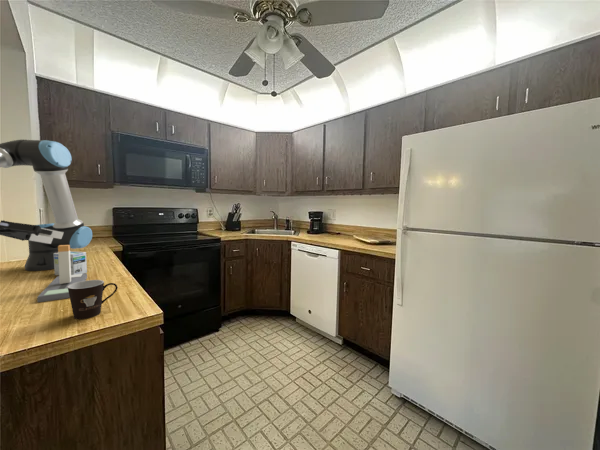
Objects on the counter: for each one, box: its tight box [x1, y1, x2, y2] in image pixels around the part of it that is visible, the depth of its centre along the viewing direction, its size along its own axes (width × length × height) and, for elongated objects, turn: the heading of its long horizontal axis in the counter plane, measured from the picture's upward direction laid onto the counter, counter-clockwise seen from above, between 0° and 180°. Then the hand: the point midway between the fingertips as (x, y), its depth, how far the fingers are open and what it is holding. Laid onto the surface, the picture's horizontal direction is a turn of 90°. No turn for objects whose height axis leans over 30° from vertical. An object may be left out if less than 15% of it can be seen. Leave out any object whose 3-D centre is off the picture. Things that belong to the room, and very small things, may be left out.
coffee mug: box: [68, 279, 118, 320], centre depth 77 cm, size 12×9×10 cm
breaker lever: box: [58, 245, 71, 284], centre depth 98 cm, size 3×3×15 cm
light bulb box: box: [53, 250, 88, 276], centre depth 117 cm, size 11×7×11 cm, turn 84°
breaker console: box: [36, 272, 88, 303], centre depth 99 cm, size 28×10×2 cm, turn 35°
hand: (57, 238), depth 100 cm, fingers open, 13 cm apart
